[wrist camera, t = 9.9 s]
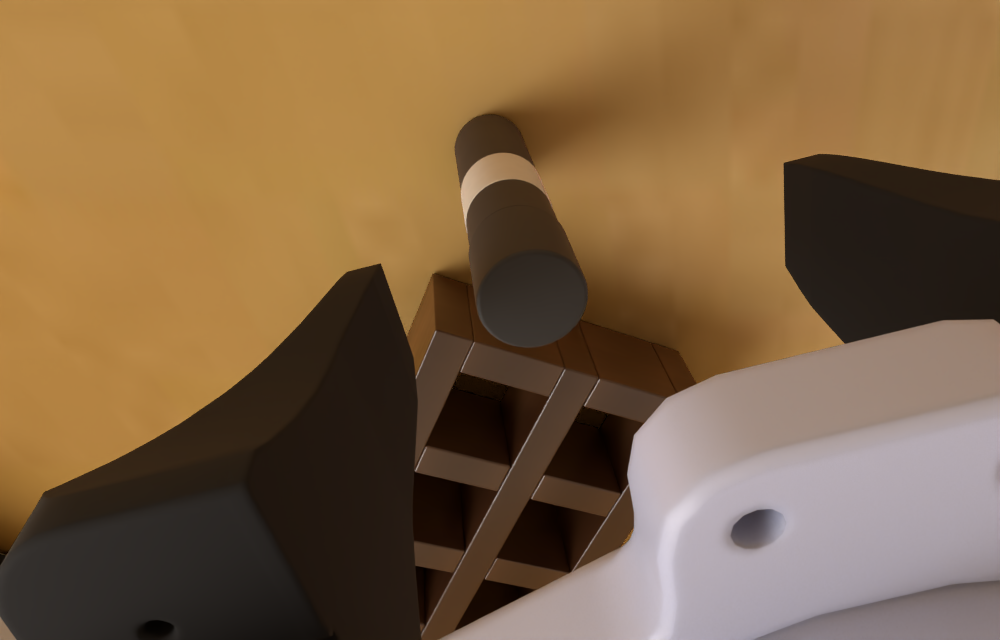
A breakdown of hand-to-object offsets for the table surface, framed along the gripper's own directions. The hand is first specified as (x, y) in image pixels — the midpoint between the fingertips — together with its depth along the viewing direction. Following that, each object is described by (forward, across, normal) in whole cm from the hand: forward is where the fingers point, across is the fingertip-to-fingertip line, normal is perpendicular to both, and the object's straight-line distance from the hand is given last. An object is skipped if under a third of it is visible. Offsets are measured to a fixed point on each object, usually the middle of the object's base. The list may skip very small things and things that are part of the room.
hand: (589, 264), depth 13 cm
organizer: (+10, +4, +13) cm, 17 cm away
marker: (+10, +1, +1) cm, 10 cm away
